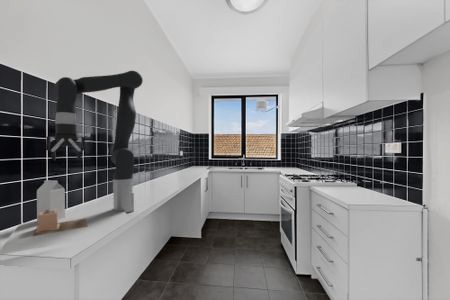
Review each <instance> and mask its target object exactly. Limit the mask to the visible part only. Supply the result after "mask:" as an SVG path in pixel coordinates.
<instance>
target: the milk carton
mask: <svg viewBox="0 0 450 300" xmlns="http://www.w3.org/2000/svg"><path fill="white" fill-rule="evenodd" d="M65 194H66V191H65V187H64V186H62V184H59V182H58V180H50V179H49V180H44V183H42V185H41V186H40V187H39V188H38V189H37V190H36V219H37V220H36V222H38V215H39V213H40V212H45V211H46V210H47V209H50V210H51V211H53V210H58V221H59V220H61V219H64V218H66V204H65V203H66V199H65V196H66V195H65Z"/></svg>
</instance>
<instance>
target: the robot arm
mask: <svg viewBox="0 0 450 300" xmlns="http://www.w3.org/2000/svg"><path fill="white" fill-rule="evenodd" d="M143 81H144V80H143V76H142V75H141V74H140V72H138V71H136V70H128V71H125V72H121V73H116V74H115V73H114V74H109V75H94V76H83V77H80V78H76V79H73V78H71V77H67V76H64V77H61V78H58V80H57V81H56V82H55V84H54V90H55V92H56V94H57V101H56V106H55V136H46V140H45V150H46V151H48V152H51V155H50V156H51V157H50V158H51V160H53V162H54V161H57V160H56V159H57V154H56V153H57V152H56V151H57V149H58V148H59V147H60V146H61V147H74V148H75V149H76V150H77V151H76V155H77V157H76V158H77V161H79V160H80V159H81V158H82V152H83V151H86V139H85V137H84V136H82V137H81V136H80V137H78V134H77V123H78V122H77V115H76V113H77V112H76V101H77V95H80V94H83V93H96V92H101V91H107V90H111V89H114V88H115V89H116V88H119V98H118V107H117V113H116V123H115V125H116V126H115V131H114V132H115V133H114V134H115V136H114V142H113V145H112V146H113V147H112V151H111V156H110V158H111V161H112V163H113V164H114V165H115V170H114V172H113V175H112V179H113V184H112V185H113V186H112V187H113V188H112V189H113V211H115V212H124V213H127V214H128V213H131V212H134V211H135V201H134V200H135V199H134V198H135V197H134V196H135V195H134V194H135V193H134V192H133V191H134V190H133V183H134V182H133V175H134V171H135V157H134V152H133V151H132V150H131V149H129V143H130V142H129V141H130V139H131V136H132V134H133V131H134V129H135V125H136V117H137V110H136V107H135V103H134V94H135V90H136V89H138V88H139V87H141V86H142V85H143ZM53 141H56V144H55V145H54V146H53V147H52V148H51V142H53ZM78 141H79V142H80V143H81V147H79V146H78V145H77V144H76V142H78Z"/></svg>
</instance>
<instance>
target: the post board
mask: <svg viewBox="0 0 450 300" xmlns="http://www.w3.org/2000/svg"><path fill="white" fill-rule="evenodd" d="M48 213H51V210H50V209H47V210H46V211H45V214H48ZM86 227H88V221H87V218H80V219H76V220H75V219H74V220H68V221H61V222H58V226H57V228H55V229H49V230H43V231H38V225H37V226H36V228H35V230H34V232H33V234H32V237H35V236H39V235H40V236H41V235H46V234H51V233H58V232H64V231H69V230H76V229H81V228H86Z"/></svg>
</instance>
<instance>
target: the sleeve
mask: <svg viewBox="0 0 450 300" xmlns="http://www.w3.org/2000/svg"><path fill="white" fill-rule="evenodd" d="M37 222H38V223H37V224H38V225H37V226H38V231H43V230H49V229H55V228H57V226H58V223H59V220H58V210H53V211H51V213H48V214H45V212H40V213H39V215H38V221H37Z"/></svg>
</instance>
